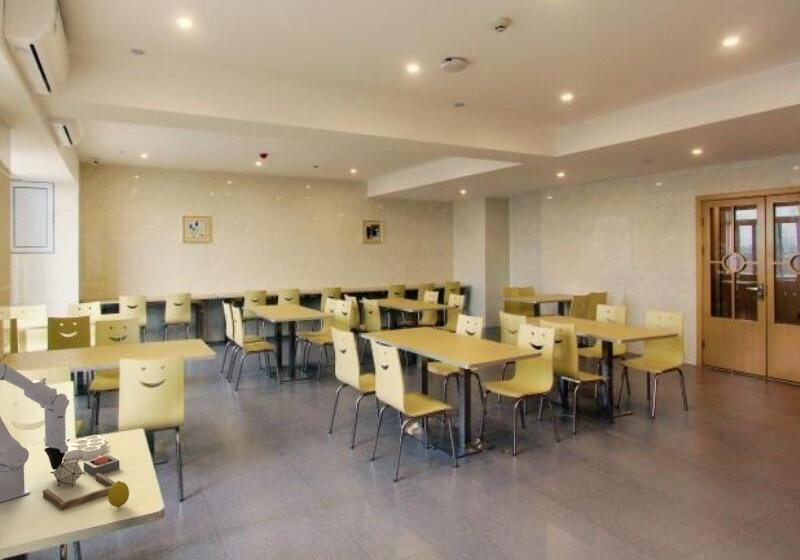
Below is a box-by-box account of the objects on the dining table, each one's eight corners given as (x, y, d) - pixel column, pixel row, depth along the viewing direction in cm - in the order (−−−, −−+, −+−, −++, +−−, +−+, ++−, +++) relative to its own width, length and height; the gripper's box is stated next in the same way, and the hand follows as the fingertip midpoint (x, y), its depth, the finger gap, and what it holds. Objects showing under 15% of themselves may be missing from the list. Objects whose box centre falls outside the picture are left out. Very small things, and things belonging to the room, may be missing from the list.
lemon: (124, 501, 162) (123, 475, 161) (132, 507, 158) (132, 480, 158) (104, 508, 157) (104, 481, 157) (113, 514, 154) (112, 487, 153)
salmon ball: (97, 472, 181) (97, 459, 181) (92, 468, 184) (91, 456, 184) (111, 468, 185) (111, 455, 184) (105, 464, 187) (105, 452, 187)
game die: (75, 493, 174) (96, 467, 176) (57, 496, 166) (79, 468, 168) (57, 477, 176) (78, 451, 178) (38, 478, 168) (60, 451, 170)
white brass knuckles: (66, 447, 205) (110, 441, 212) (62, 464, 190) (109, 457, 196) (66, 438, 205) (109, 433, 212) (62, 454, 189) (109, 448, 196)
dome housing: (94, 476, 179) (94, 467, 178) (83, 470, 184) (83, 461, 183) (119, 468, 185) (119, 460, 185) (108, 462, 190) (108, 454, 190)
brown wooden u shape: (61, 510, 155) (61, 504, 155) (43, 496, 164) (42, 490, 164) (119, 490, 168) (119, 484, 168) (99, 478, 177) (99, 472, 177)
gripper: (77, 430, 176) (78, 470, 177) (59, 420, 185) (60, 459, 185) (53, 435, 170) (54, 477, 171) (36, 426, 179) (37, 465, 180)
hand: (56, 468), depth 178 cm, fingers closed
